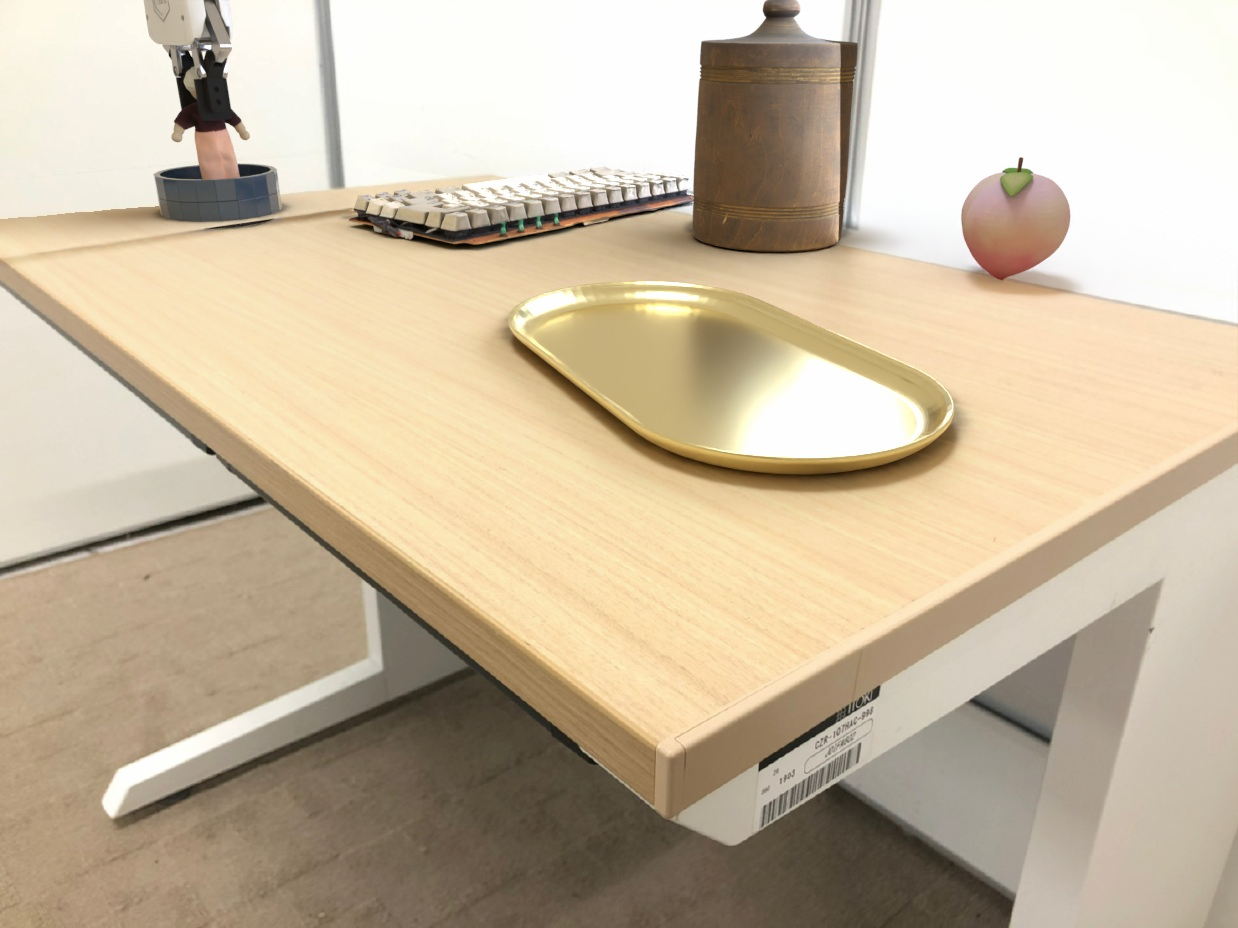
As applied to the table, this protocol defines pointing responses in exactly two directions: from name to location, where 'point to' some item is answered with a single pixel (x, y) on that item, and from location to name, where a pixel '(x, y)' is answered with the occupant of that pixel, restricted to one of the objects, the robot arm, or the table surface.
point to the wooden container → (773, 137)
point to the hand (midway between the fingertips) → (207, 116)
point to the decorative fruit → (1014, 221)
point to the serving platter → (733, 377)
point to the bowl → (218, 195)
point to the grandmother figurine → (209, 137)
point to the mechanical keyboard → (519, 204)
